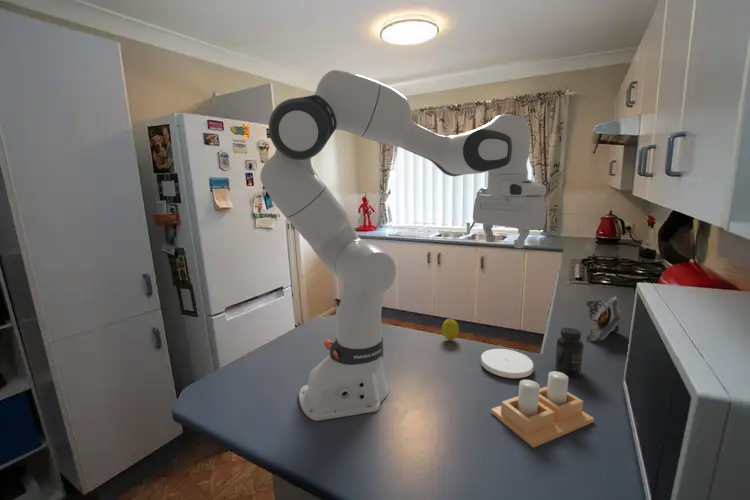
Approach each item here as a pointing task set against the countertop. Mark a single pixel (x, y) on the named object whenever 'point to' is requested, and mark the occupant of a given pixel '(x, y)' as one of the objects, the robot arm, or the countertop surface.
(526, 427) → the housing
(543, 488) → the countertop surface
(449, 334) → the lemon
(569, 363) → the supplement bottle
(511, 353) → the plastic lid
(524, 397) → the peg
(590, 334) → the ornate grey picture frame
